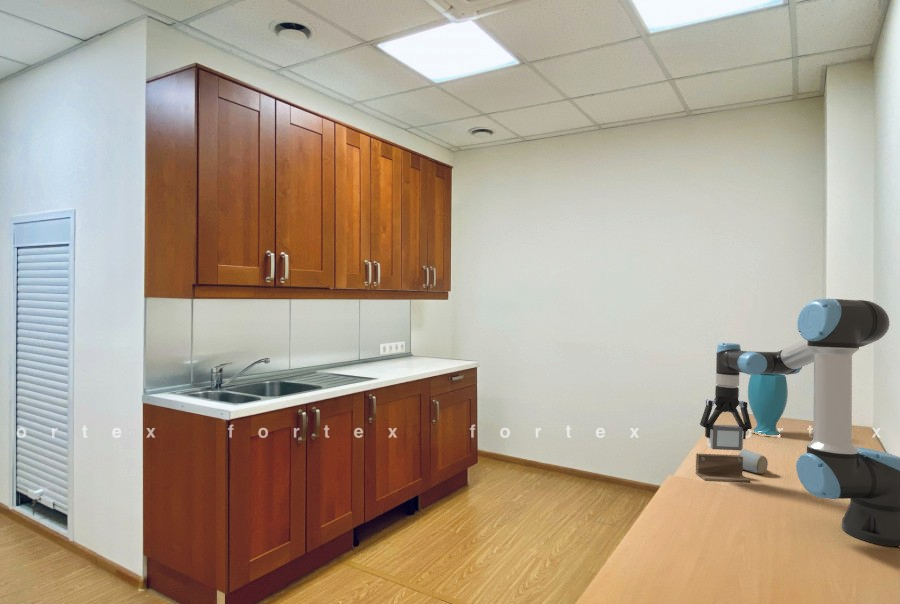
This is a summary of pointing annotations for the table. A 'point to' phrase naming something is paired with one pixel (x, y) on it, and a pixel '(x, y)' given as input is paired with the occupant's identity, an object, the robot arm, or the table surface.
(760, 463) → the ceramic mug
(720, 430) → the grey box
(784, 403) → the vase
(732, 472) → the wall rail
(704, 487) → the table surface
